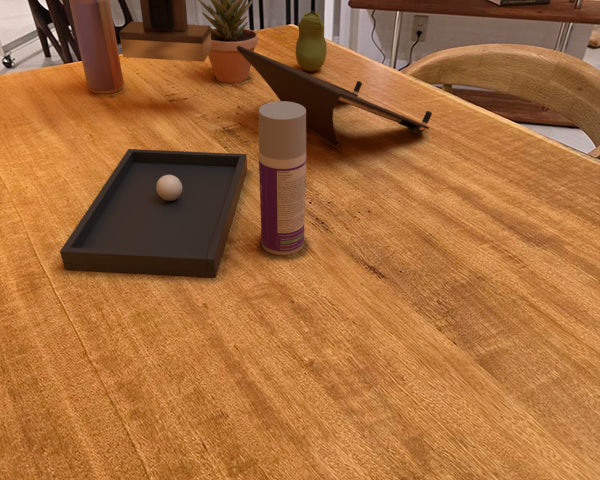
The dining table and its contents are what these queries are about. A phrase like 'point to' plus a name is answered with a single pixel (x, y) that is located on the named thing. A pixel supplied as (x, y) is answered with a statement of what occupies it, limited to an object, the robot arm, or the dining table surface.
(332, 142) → the laptop stand
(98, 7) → the beverage can
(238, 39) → the potted plant
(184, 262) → the tray
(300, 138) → the container
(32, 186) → the dining table surface
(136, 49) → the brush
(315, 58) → the pear
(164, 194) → the white ball
